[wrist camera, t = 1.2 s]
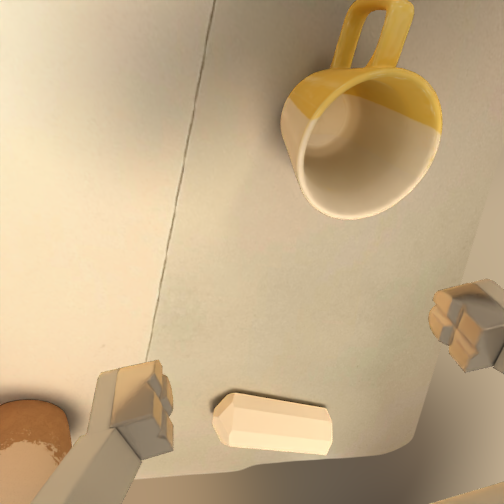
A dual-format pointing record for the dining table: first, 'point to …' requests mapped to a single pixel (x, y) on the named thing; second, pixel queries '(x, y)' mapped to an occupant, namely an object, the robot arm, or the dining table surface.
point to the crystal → (272, 424)
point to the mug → (362, 122)
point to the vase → (30, 447)
